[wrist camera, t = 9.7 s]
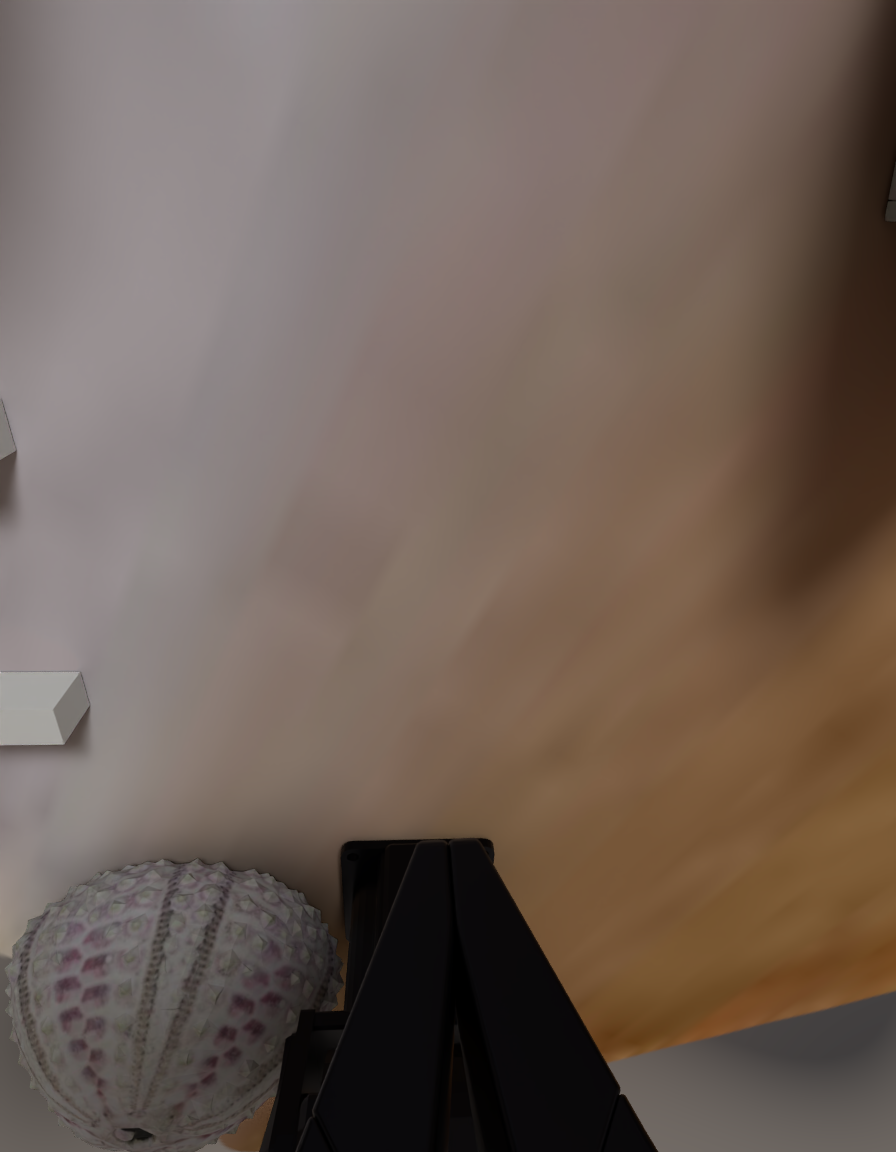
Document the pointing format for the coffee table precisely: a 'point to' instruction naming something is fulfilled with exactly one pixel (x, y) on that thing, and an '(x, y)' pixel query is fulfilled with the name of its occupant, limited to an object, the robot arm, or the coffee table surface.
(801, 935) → the coffee table surface
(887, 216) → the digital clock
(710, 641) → the coffee table surface
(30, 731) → the channel
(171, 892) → the sea urchin shell
